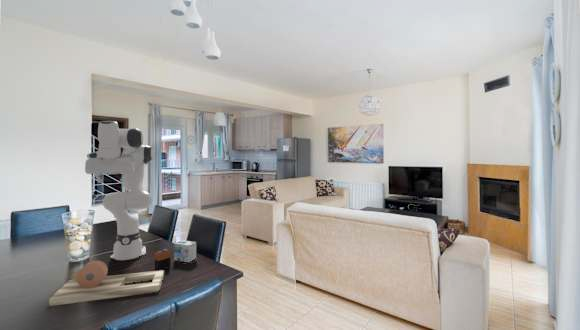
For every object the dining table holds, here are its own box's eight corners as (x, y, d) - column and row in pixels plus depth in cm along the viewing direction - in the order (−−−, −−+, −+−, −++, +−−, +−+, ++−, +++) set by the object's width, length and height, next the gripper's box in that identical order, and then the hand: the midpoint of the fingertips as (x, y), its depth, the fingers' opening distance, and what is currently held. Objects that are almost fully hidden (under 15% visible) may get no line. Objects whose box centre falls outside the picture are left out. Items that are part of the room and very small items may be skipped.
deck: (69, 286, 124) (69, 280, 124) (164, 275, 136) (164, 269, 136) (49, 306, 108) (49, 298, 108) (159, 291, 120) (159, 285, 120)
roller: (82, 283, 121) (82, 261, 120) (108, 280, 124) (107, 259, 124) (76, 290, 115) (75, 266, 115) (103, 286, 118) (103, 264, 118)
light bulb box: (173, 261, 155) (173, 243, 154) (181, 257, 161) (181, 239, 161) (188, 264, 151) (188, 245, 151) (196, 260, 158) (196, 241, 157)
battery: (170, 267, 147) (170, 249, 146) (158, 271, 141) (158, 252, 141) (166, 265, 149) (166, 247, 149) (154, 269, 144) (154, 251, 143)
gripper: (135, 153, 136) (136, 180, 137) (88, 154, 130) (90, 182, 131) (132, 154, 130) (133, 182, 131) (82, 154, 124) (84, 184, 125)
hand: (111, 182), depth 131 cm, fingers open, 8 cm apart
